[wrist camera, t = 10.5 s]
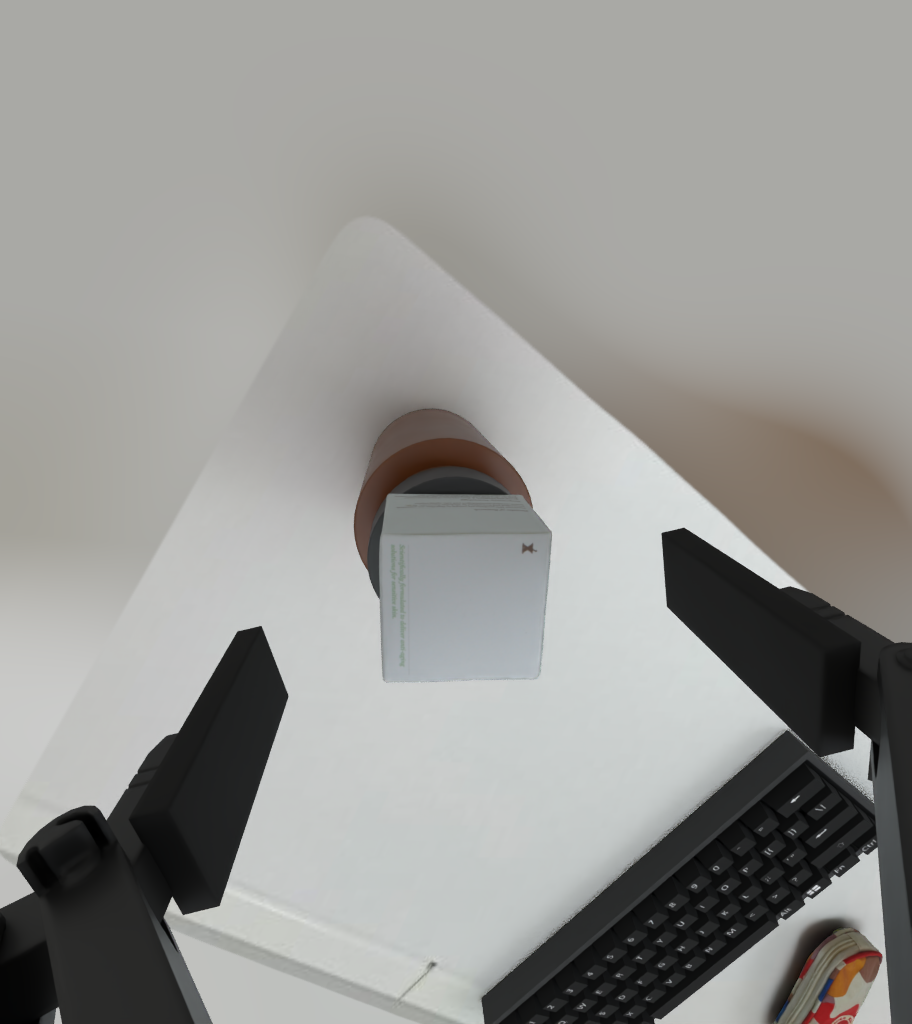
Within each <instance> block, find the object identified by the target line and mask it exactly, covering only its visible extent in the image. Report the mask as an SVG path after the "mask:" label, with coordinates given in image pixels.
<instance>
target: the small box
mask: <svg viewBox="0 0 912 1024" xmlns="http://www.w3.org/2000/svg"><path fill="white" fill-rule="evenodd" d="M551 541H552V532H551V531H550V530H549V528H548V527H547V526H546V525H545V523H544V522H543V521H542V519H541V518H540V517H539V516H538V515H537V513H536V512H535V511H534V510H533V508H532V507H531V506H530V505H529V504H528V502H527V501H526V500H525V499H524V497H523V496H522V495H475V494H388V495H387V498H386V506H385V513H384V520H383V528H382V533H381V537H380V549H379V580H380V622H381V651H382V671H383V681H384V682H386V683H390V682H439V681H465V680H513V679H538V677H539V675H540V671H541V661H542V650H543V639H544V624H545V610H546V599H547V590H548V579H549V567H550V554H551Z"/></svg>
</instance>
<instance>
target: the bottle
mask: <svg viewBox="0 0 912 1024" xmlns="http://www.w3.org/2000/svg"><path fill="white" fill-rule="evenodd" d="M388 494H475V495H522V496H523V497H524V499H525V500H526V501H527V502H528V504H529V505H530V506H531V507H532V508H533V506H532V502H531V498H530V495H529V492H528V490H527V487H526V485H525V483H524V482H523V480H522V478H521V476H520V475H519V474H518V472H517V471H516V470H515V468H514V467H513V466H512V465H511V464H510V463H509V462H508V461H507V460H506V459H505V458H504V457H503V456H502V455H501V454H500V453H499V452H498V451H497V450H496V449H495V448H494V447H493V446H492V445H491V444H490V443H489V442H488V440H487V439H486V438H485V437H484V436H483V435H482V434H481V433H480V432H479V431H478V430H477V429H476V428H475V427H474V426H473V425H472V424H471V423H469V422H468V421H467V420H465V419H464V418H462V417H460V416H459V415H457V414H454V413H452V412H449V411H445V410H439V409H423V410H417V411H413V412H410V413H408V414H405V415H403V416H401V417H400V418H398V419H396V420H395V421H394V422H392V423H391V424H390V425H389V426H388V427H387V428H386V429H385V430H384V431H383V432H382V434H381V435H380V437H379V438H378V440H377V442H376V444H375V446H374V449H373V451H372V454H371V458H370V461H369V465H368V468H367V471H366V475H365V478H364V481H363V485H362V488H361V491H360V495H359V498H358V501H357V505H356V510H355V516H354V535H355V541H356V545H357V549H358V552H359V555H360V557H361V560H362V561H363V563H364V565H365V567H366V569H367V570H368V572H369V577H370V580H371V583H372V586H373V588H374V590H375V592H376V594H377V596H378V598H379V599H380V580H379V549H380V537H381V533H382V528H383V520H384V513H385V506H386V498H387V495H388Z"/></svg>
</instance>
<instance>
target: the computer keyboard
mask: <svg viewBox="0 0 912 1024" xmlns="http://www.w3.org/2000/svg"><path fill="white" fill-rule="evenodd" d="M877 847H878V845H877V832H876V819H875V807H874V803H873V802H872V801H870V800H869V799H868V798H867V797H866V796H864V795H863V794H862V793H861V792H860V791H859V790H857V789H856V788H855V787H854V786H853V785H851V784H850V783H849V782H848V781H847V780H846V779H844V778H843V777H842V776H841V775H840V774H838V773H837V772H836V771H835V770H834V769H833V768H831V767H830V766H829V765H828V764H827V763H825V762H824V761H823V760H822V759H821V758H819V757H818V756H817V755H816V754H815V753H814V752H812V751H811V750H810V749H809V748H808V747H806V746H805V745H804V744H803V743H802V742H801V741H799V740H798V739H797V738H796V737H795V736H793V735H792V734H791V733H790V732H789V731H788V730H787V731H786V732H785V733H784V734H783V735H782V736H781V737H779V738H778V739H777V740H776V741H775V742H774V743H773V744H771V745H770V746H769V747H768V748H767V749H766V750H765V751H763V752H762V753H761V754H760V755H759V756H758V757H757V758H755V759H754V760H753V761H752V762H751V763H750V764H749V765H747V766H746V767H745V768H744V769H743V770H742V771H741V772H739V773H738V774H737V775H736V776H735V777H734V778H733V779H732V780H730V781H729V782H728V783H727V784H726V785H725V786H724V787H722V788H721V789H720V790H719V791H718V792H717V793H716V794H714V795H713V796H712V797H711V798H710V799H709V800H708V801H706V802H705V803H704V804H703V805H702V806H701V807H700V808H698V809H697V810H696V811H695V812H694V813H693V814H692V815H690V816H689V817H688V818H687V819H686V820H685V821H684V822H682V823H681V824H680V825H679V826H678V827H677V828H676V829H675V830H673V831H672V832H671V833H670V834H669V835H668V836H667V837H665V838H664V839H663V840H662V841H661V842H660V843H659V844H657V845H656V846H655V847H654V848H653V849H652V850H651V851H649V852H648V853H647V854H646V855H645V856H644V857H643V858H641V859H640V860H639V861H638V862H637V863H636V864H635V865H633V866H632V867H631V868H630V869H629V870H628V871H627V872H625V873H624V874H623V875H622V876H621V877H620V878H619V879H618V880H616V881H615V882H614V883H613V884H612V885H611V886H610V887H608V888H607V889H606V890H605V891H604V892H603V893H602V894H600V895H599V896H598V897H597V898H596V899H595V900H594V901H592V902H591V903H590V904H589V905H588V906H587V907H586V908H584V909H583V910H582V911H581V912H580V913H579V914H578V915H576V916H575V917H574V918H573V919H572V920H571V921H570V922H569V923H567V924H566V925H565V926H564V927H563V928H562V929H561V930H559V931H558V932H557V933H556V934H555V935H554V936H553V937H551V938H550V939H549V940H548V941H547V942H546V943H545V944H543V945H542V946H541V947H540V948H539V949H538V950H537V951H535V952H534V953H533V954H532V955H531V956H530V957H529V958H527V959H526V960H525V961H524V962H523V963H522V964H521V965H519V966H518V967H517V968H516V969H515V970H514V971H513V972H512V973H510V974H509V975H508V976H507V977H506V978H505V979H504V980H502V981H501V982H500V983H499V984H498V985H497V986H496V987H494V988H493V989H492V990H491V991H490V992H489V993H488V994H486V995H485V996H484V997H483V998H482V1007H483V1015H484V1023H485V1024H655V1023H654V1019H655V1018H657V1019H662V1018H663V1017H664V1016H666V1015H667V1014H668V1013H669V1012H671V1011H672V1010H673V1009H674V1008H676V1007H677V1006H678V1005H679V1004H681V1003H682V1002H683V1001H685V1000H686V999H687V998H688V997H690V996H691V995H692V994H693V993H695V992H696V991H697V990H698V989H700V988H701V987H702V986H703V985H705V984H706V983H707V982H708V981H710V980H711V979H712V978H713V977H715V976H716V975H717V974H718V973H720V972H721V971H722V970H723V969H725V968H726V967H727V966H728V965H730V964H731V963H732V962H734V961H735V960H736V959H737V958H739V957H740V956H741V955H742V954H744V953H745V952H746V951H747V950H749V949H750V948H751V947H752V946H754V945H755V944H756V943H757V942H759V941H760V940H761V939H762V938H764V937H765V936H766V935H767V934H769V933H770V932H771V931H772V930H774V929H775V928H776V927H777V926H779V924H778V922H777V920H779V919H780V918H783V919H785V920H786V919H788V918H789V917H790V916H791V915H793V914H794V913H795V912H796V911H798V910H799V909H800V908H801V907H803V906H804V905H805V903H804V899H805V898H806V897H807V896H808V897H810V898H811V899H813V898H814V897H815V896H816V895H818V894H819V893H820V892H821V891H823V890H824V889H825V888H826V887H828V886H829V885H830V884H832V882H831V880H830V878H831V877H832V876H834V875H836V876H838V877H840V876H842V875H843V874H844V873H845V872H847V871H848V870H849V869H850V868H852V867H853V866H854V865H855V864H857V863H858V862H859V861H860V860H859V858H858V856H859V855H860V854H861V853H863V852H864V853H865V854H867V855H868V854H869V853H870V852H872V851H873V850H874V849H875V848H877Z"/></svg>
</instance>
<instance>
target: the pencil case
mask: <svg viewBox="0 0 912 1024" xmlns="http://www.w3.org/2000/svg"><path fill="white" fill-rule="evenodd" d="M881 962H882V954H881V953H880V952H879V950H878V949H876V948H875V947H874V946H873V945H872V944H871V943H870V942H869V941H868V939H867V938H866V937H865V936H864V935H862V934H861V933H860V932H859V931H857V930H856V929H853V928H850V927H849V928H841V927H840V928H838V929H836V930H834V931H833V932H832V935H831V936H829V937H828V938H826V939H825V940H824V941H823V942H822V943H821V944H820V945H819V946H818V947H817V948H816V949H815V950H814V951H813V952H812V953H811V954H810V956H809V957H808V959H807V961H806V963H805V965H804V967H803V969H802V971H801V973H800V976H799V978H798V980H797V982H796V983H795V986H794V988H793V990H792V992H791V994H790V995H789V997H788V999H787V1001H786V1003H785V1004H784V1006H783V1008H782V1010H781V1011H780V1013H779V1014H778V1016H777V1018H776V1020H775V1022H774V1023H773V1024H852V1023H853V1021H854V1018H855V1016H856V1014H857V1013H858V1011H859V1009H860V1007H861V1005H862V1004H863V1002H864V1000H865V998H866V996H867V994H868V992H869V990H870V988H871V986H872V984H873V982H874V980H875V978H876V975H877V973H878V970H879V967H880V964H881Z"/></svg>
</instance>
